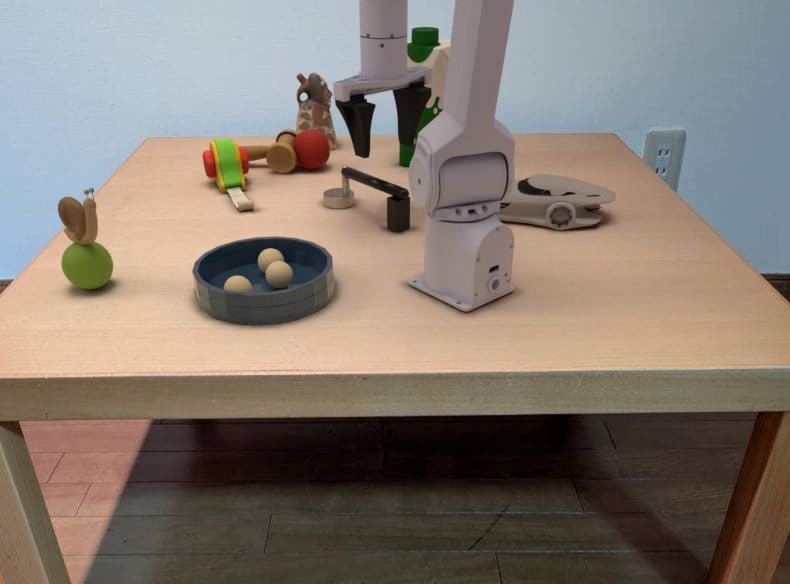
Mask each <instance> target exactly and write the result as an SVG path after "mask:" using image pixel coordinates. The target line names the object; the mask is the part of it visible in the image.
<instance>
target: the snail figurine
mask: <svg viewBox="0 0 790 584" xmlns="http://www.w3.org/2000/svg"><path fill="white" fill-rule="evenodd" d="M94 192H95V189H94V188H93V187H89V188H88V189H87V188H86V189H83V194H84V195H85V196H86V198H85V199H84V200H83V202H82V203H81V201H79V200H78V199H76V198H74V197H72V196H63V197H62V198H61V199H60V200H59V201H58V203H57V213H58V216H59V219H60V221H61V223H62V224H63V226H64V228H63V232H64V234H65V236H66V237H67V239H69V240H70V241H71V242H72V243H71V244H69V245H68V246H67V247H66V248H65V250H64V251H63V254H62V256H61V263H60V265H61V270H62V272H63V274H64V276H65V278H66V279H67V280H68V282H70V284H72V285H74V286H75V287H78V288H80V289H84V290H95V289H98V288H100V287H102V286H104V285H105V284H106V283H107V282H109V280H110V279H111V277H112V275H113V272H114V261H113V258H112V255H111V253H110V252H109V250H108V249H106V247H105V246H103V244H100V242H99V243H98V242H97V241H96V239H98V238H97V237H98V231H99V220H98V214H97V208H98V207H97V202H96V201H95V197H94ZM89 194H91V195H92V198H90V197H89V196H88V195H89Z"/></svg>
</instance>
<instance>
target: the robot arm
mask: <svg viewBox="0 0 790 584" xmlns="http://www.w3.org/2000/svg"><path fill="white" fill-rule="evenodd" d="M408 1H409V0H358V6H359V7H358V8H359V9H358V10H359V46H360V47H359V49H360V70H359V71H358V73H357V74H355V75H352V76H350V77H346V78H343V79H342V80H338V81H333V82H332V91H333V92H332V94H333V100H334V105H335V107H336V108H337V110H338V112H339V113H340V115H341V117H342V119H343V121H344V124H345V125H346V128H347V130H348V134H349V137H350V140H351V143H352V147H353V151H354V155H355V156H356V157H359V158H362V159H368V158H370V156H371V155H370V154H371V131H372V130H371V129H372V124H373V123H372V122H373V117H374V113H375V111H376V108H377V107H376V106H377V105H376V104H375V103H373V102H369V101H368V98H365V96H370V95H375V94H381V93H385V92H390V91H391V92H392V94H393V99H394V103H395V109H396V116H397V138H398V144H402V145H406V146H409V147H410V146H413V143H414V139H415V135H416V131H417V127H418V124H419V121H420V118H421V115H422V113H423V111H424V108H425V106H426V104H427V103H428V101H429V99H430V98H431V96H432V89H431V88H429V87H425V86H424V85H427V84H431V69H432V68H430V67H425V66H416V67H407V41H408V20H409V19H408V17H409V16H408V15H409V14H408V12H409V10H408V9H409V6H408V5H409V4H408V3H409V2H408ZM514 5H515V0H455V1H454V10H453V17H452V18H453V19H452V25H451V34H450V40H451V43H450V51H449V60H448V68H447V77H446V85H445V94H444V102H443V110H442V112H441V113H440V114H439V115H438V116H437V117H436V118H435V119H433V120H432V121H431V122H430V123H429V124H428V125H426V126H425V127H424V128H423V129H422V130H421V131H420V132H419V133H418V140H417V143H416V148H415V152H414V156H413V158H412V160H411V162H410V167H408V184H409V190H410V194H411V197H412V200H413V202H414V204H415V206H416V207H417V208H418V209H419V210H420V211H421V212H423V213H425V219H424V221H425V222H424V223H425V224H424V227H425V228H424V261H423V273H421V274H417V275H416V276H412V277H410V278H408V279H407V285H410V286H411V287H414V288H416V289H417V290H419V291H422V292H423V293H426V294H428V295H430V296H431V297H434V298H435V299H438V300H439V301H442V302H443V303H446V304H448V305H450V306H452V307H454V308H456V309H458V310H460V311H462V312H470V311H472V310H475V309H476V308H479V307H481V306H483V305H486V304H488V303H490V302H492V301H495V300H497V299H498V298H501V297H503V296H505V295H507V294H510V293H512V292H514V291H515V286H514V285H512V284H511V278H512V269H513V261H514V260H513V259H514V249H515V236H514V232H513V231H512V229H511V228H510V227H509V226H508V225H507V224H505V223H504V222H503V221H501V220H499V219H498V218H497V217H496V215H495V212H499V211H500V202H503V201H505V200H506V199H507V198H508V196H509V194H510V192H511V190H512V188H513V185H514V180H516V169H515V167H516V166H515V149H516V140H515V139H514V136H513V134H512V132H511V131H510V130H509V129H508V127H507V126H506V125H505V124H503V123H502V122H501V121H499V120H498V119H497V118H496V117H495V116H496V110H497V106H498V105H497V104H498V99H499V94H500V93H499V92H500V88H501V87H500V86H501V82H502V81H501V80H502V74H503V69H504V63H505V58H506V51H507V46H508V40H509V34H510V29H511V22H512V16H513V12H514Z"/></svg>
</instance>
